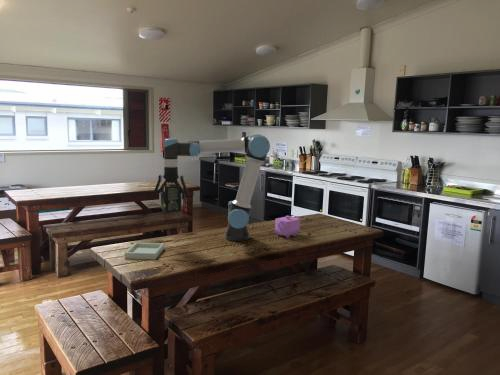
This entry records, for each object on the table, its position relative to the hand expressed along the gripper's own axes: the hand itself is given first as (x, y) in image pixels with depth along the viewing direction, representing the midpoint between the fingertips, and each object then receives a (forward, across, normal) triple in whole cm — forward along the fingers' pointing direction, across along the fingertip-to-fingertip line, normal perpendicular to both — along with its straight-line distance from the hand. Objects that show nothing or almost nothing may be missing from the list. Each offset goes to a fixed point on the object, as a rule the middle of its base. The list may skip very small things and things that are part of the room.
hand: (171, 204), depth 242 cm
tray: (+23, +10, +18) cm, 31 cm away
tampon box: (+3, 0, 0) cm, 3 cm away
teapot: (+23, -68, -28) cm, 77 cm away
